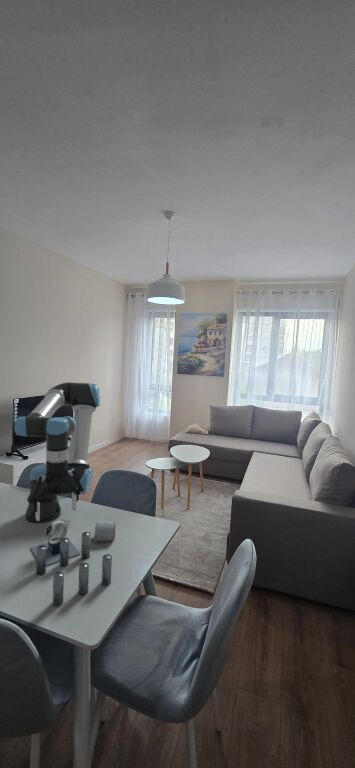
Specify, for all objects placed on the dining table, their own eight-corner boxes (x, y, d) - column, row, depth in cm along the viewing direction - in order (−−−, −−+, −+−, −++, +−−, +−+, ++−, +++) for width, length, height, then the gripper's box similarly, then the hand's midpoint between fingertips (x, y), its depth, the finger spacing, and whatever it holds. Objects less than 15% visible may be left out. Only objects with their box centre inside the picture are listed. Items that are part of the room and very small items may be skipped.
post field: (35, 571, 115) (35, 546, 115) (87, 553, 127) (88, 531, 126) (54, 607, 100) (55, 579, 99) (112, 583, 112) (113, 557, 111)
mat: (30, 548, 129) (30, 547, 129) (66, 537, 137) (66, 536, 137) (41, 567, 118) (41, 566, 118) (80, 554, 126) (80, 553, 126)
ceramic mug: (115, 544, 135) (115, 525, 134) (94, 545, 133) (94, 526, 132) (114, 530, 145) (115, 513, 144) (95, 531, 143) (95, 514, 143)
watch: (42, 549, 127) (43, 522, 126) (63, 543, 132) (64, 516, 131) (47, 557, 123) (47, 528, 122) (68, 550, 128) (69, 522, 127)
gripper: (23, 469, 114) (23, 528, 116) (93, 457, 129) (91, 509, 132) (18, 462, 120) (18, 519, 122) (85, 451, 135) (83, 502, 137)
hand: (56, 514), depth 127 cm, fingers open, 13 cm apart
